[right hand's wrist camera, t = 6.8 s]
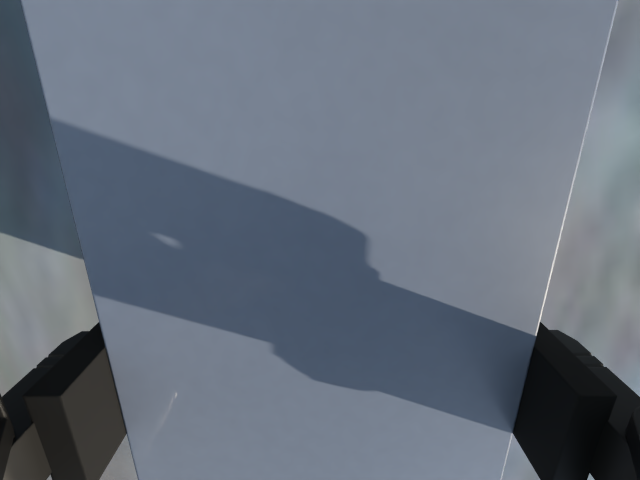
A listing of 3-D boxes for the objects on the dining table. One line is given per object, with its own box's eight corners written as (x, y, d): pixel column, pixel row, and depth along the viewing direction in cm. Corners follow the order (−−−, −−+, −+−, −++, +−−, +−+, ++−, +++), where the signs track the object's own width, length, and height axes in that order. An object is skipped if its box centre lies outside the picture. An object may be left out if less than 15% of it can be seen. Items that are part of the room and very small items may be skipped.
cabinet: (181, -177, 13) (-249, -1075, 3) (456, -177, 13) (882, -1068, 3) (229, 309, 20) (142, 502, 10) (409, 309, 20) (497, 502, 10)
